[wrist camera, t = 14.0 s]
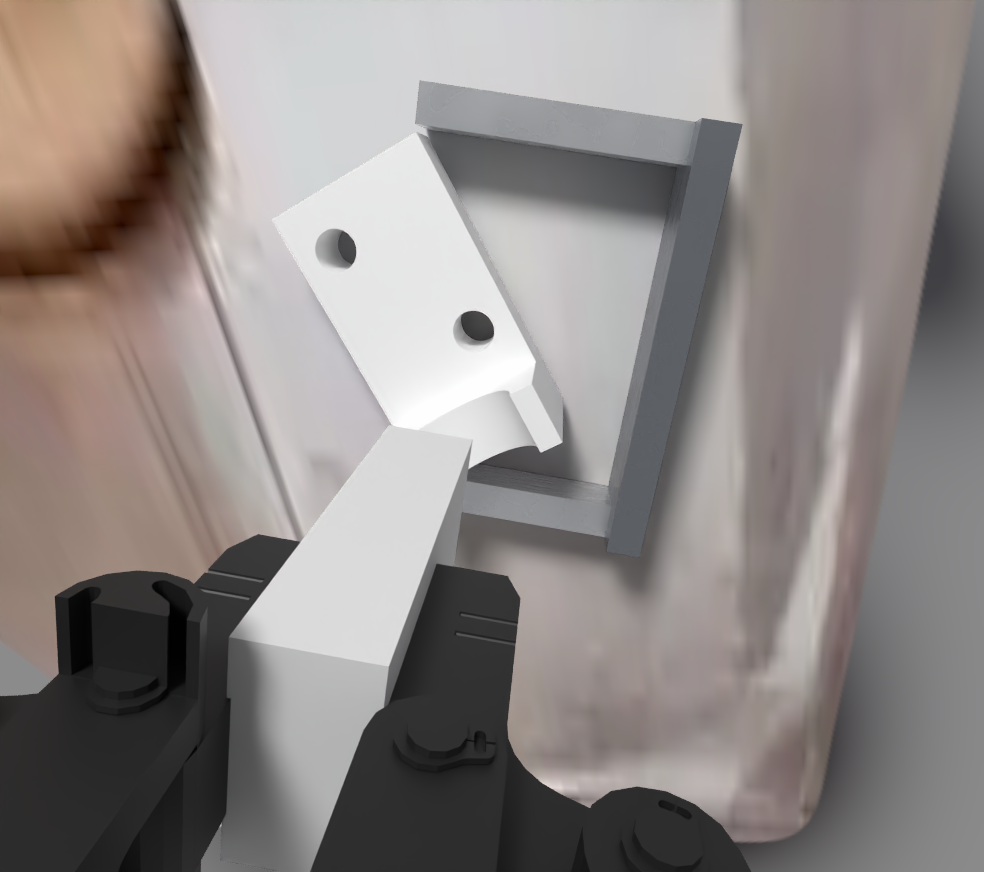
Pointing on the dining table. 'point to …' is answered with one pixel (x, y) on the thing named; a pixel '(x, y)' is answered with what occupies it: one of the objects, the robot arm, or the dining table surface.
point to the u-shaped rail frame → (669, 312)
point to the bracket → (423, 304)
